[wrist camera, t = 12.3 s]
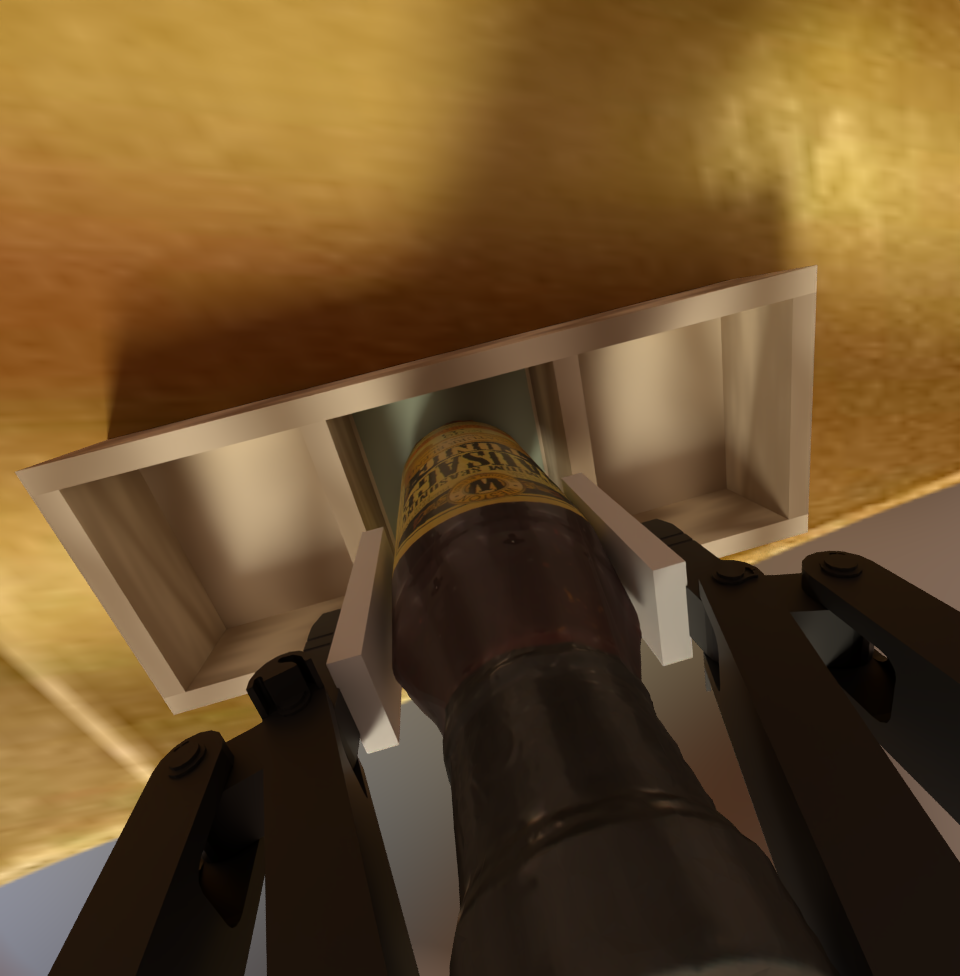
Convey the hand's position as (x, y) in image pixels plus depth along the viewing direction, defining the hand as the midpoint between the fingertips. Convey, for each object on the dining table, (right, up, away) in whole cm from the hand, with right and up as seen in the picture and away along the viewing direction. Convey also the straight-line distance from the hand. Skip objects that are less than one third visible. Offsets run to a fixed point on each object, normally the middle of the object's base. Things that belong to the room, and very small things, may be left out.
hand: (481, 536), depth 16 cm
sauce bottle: (-1, +2, +7) cm, 7 cm away
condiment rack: (-1, +3, +7) cm, 8 cm away
